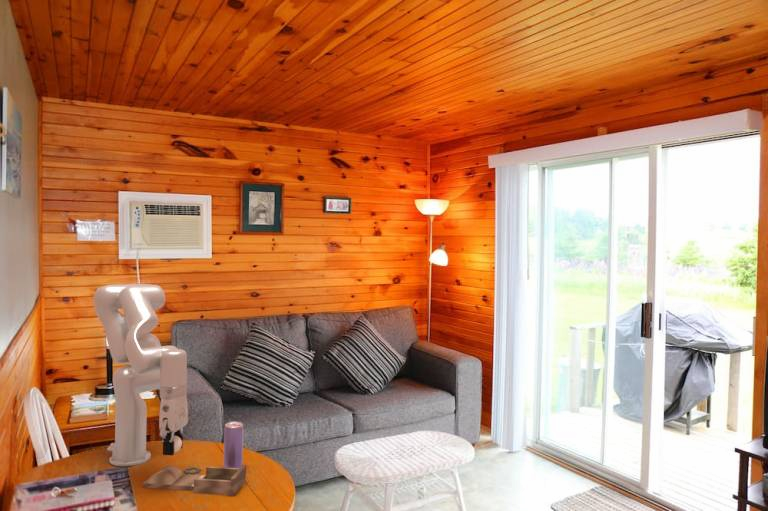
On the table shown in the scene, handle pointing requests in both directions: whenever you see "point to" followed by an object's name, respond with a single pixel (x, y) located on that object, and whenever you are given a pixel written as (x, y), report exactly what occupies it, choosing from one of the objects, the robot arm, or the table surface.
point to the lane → (199, 480)
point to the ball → (177, 443)
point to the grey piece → (192, 469)
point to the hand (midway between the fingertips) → (172, 450)
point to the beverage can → (233, 445)
